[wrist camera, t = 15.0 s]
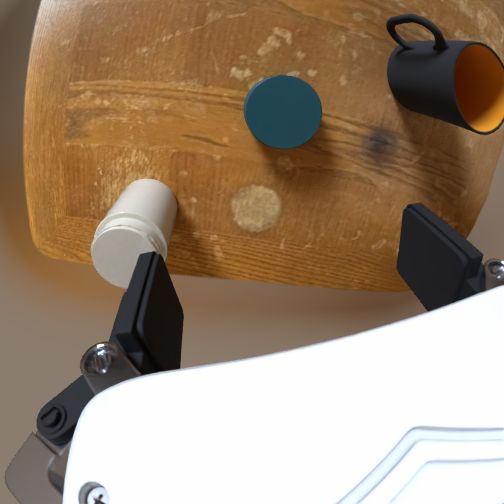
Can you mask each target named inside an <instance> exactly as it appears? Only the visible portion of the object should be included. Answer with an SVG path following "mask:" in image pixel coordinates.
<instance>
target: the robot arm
mask: <svg viewBox="0 0 504 504" xmlns="http://www.w3.org/2000/svg"><path fill="white" fill-rule="evenodd" d="M482 258H483V254H482V253H481V252H480V251H479V250H478V249H476V248H475V247H474V246H473V245H472V244H471V243H470V242H469V241H467V240H466V239H465V238H464V237H463V236H462V235H460V234H459V233H458V232H457V231H456V230H455V229H453V228H452V227H451V226H450V225H449V224H447V223H446V222H445V221H444V220H442V219H441V218H440V217H439V216H437V215H436V214H435V213H433V212H432V211H431V210H430V209H428V208H427V207H426V206H424V205H423V204H422V203H415V204H409V205H407V207H406V209H404V210H403V216H402V227H401V236H400V244H399V252H398V259H397V270H398V273H399V274H400V275H401V277H402V278H403V279H404V281H405V282H406V283H407V284H408V286H409V287H410V288H411V290H412V291H413V292H414V294H415V295H416V296H417V297H418V299H419V300H420V302H421V303H422V304H423V306H424V307H425V308H426V310H427V311H428V312H426V313H423V314H420V315H417V316H414V317H411V318H407V319H404V320H401V321H398V322H395V323H391V324H388V325H385V326H381V327H378V328H375V329H371V330H367V331H364V332H360V333H356V334H353V335H349V336H345V337H341V338H337V339H334V340H329V341H325V342H321V343H317V344H313V345H309V346H304V347H300V348H295V349H291V350H286V351H281V352H276V353H271V354H266V355H261V356H256V357H250V358H245V359H239V360H233V361H227V362H221V363H215V364H208V365H201V366H195V367H189V368H183V369H180V362H181V345H182V332H183V319H184V316H183V310H182V307H181V304H180V302H179V299H178V296H177V294H176V291H175V289H174V286H173V283H172V281H171V278H170V275H169V273H168V270H167V267H166V265H165V262H164V259H163V256H162V255H161V254H157V253H156V252H155V251H151V252H147V253H142V254H140V255H139V257H138V260H137V263H136V266H135V268H134V271H133V274H132V277H131V280H130V283H129V286H128V289H127V292H125V293H124V295H123V297H122V300H121V303H120V306H119V310H118V313H117V316H116V319H115V322H114V326H113V329H112V333H111V336H110V339H109V342H101V343H97V344H95V345H94V346H92V347H90V348H89V349H88V350H87V351H86V353H85V354H84V355H83V356H82V359H81V362H80V369H81V372H82V374H83V375H82V376H80V377H79V378H78V379H77V380H75V381H74V382H73V383H72V384H71V385H69V386H68V387H67V388H66V389H64V390H63V391H62V392H61V393H60V394H58V395H57V396H56V397H54V398H53V399H52V400H51V401H50V402H48V403H47V404H46V405H45V406H44V407H43V408H42V409H41V411H40V412H39V414H38V418H37V428H38V431H37V433H36V434H34V433H33V432H32V433H31V434H30V436H29V437H28V438H27V440H26V441H25V443H24V444H23V445H22V447H21V448H20V450H19V451H18V453H17V454H16V455H15V457H14V458H13V460H12V461H11V463H10V464H9V466H8V468H7V470H6V472H5V482H6V485H7V487H8V489H9V490H10V492H11V493H12V494H13V495H14V497H15V498H16V499H17V500H18V501H19V503H20V504H504V261H503V260H500V259H495V258H494V259H489V260H487V261H486V262H485V264H484V265H483V264H482V263H481V261H482Z"/></svg>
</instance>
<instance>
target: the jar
mask: <svg viewBox="0 0 504 504" xmlns="http://www.w3.org/2000/svg"><path fill="white" fill-rule="evenodd" d="M177 212H178V206H177V201H176V198H175V196H174V194H173V193H172V191H171V190H170V189H169V188H168V187H167V186H166V185H164V184H163V183H161V182H159V181H156V180H152V179H140V180H137V181H134V182H132V183H131V184H129V185H128V186H127V187H126V188H125V189H124V190H123V192H122V193H121V194H120V196H119V197H118V199H117V200H116V201H115V203H114V204H113V206H112V207H111V208H110V210H109V211H108V213H107V214H106V215H105V217H104V218H103V220H102V221H101V223H100V224H99V226H98V227H97V230H96V232H95V237H94V240H93V242H92V244H91V250H90V252H91V253H92V261H93V264H94V266H95V268H96V270H97V272H98V273H99V274H100V275H101V276H102V277H103V278H104V279H105V280H106V281H108V282H109V283H111V284H113V285H115V286H118V287H121V288H126V289H128V286H129V283H130V280H131V277H132V274H133V271H134V268H135V266H136V263H137V260H138V257H139V255H140V254H142V253H147V252H151V251H155V252H156V253H157V254H161V255H162V256H163V259H164V262H165V261H166V257H167V253H168V249H169V245H170V241H171V237H172V233H173V228H174V225H175V221H176V217H177Z"/></svg>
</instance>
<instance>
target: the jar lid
mask: <svg viewBox="0 0 504 504" xmlns="http://www.w3.org/2000/svg"><path fill="white" fill-rule="evenodd" d="M244 117H245V120H246V123H247V125H248V127H249V129H250V130H251V132H252V133H253V134H254V136H255V137H256V138H257V139H258V140H259V141H261V142H262V143H264V144H266V145H268V146H270V147H273V148H278V149H290V148H295V147H298V146H300V145H302V144H304V143H305V142H307V141H308V140H309V139H310V138H312V136H313V135H314V134H315V133H316V131H317V130H318V127H319V125H320V122H321V118H322V106H321V102H320V99H319V97H318V95H317V93H316V92H315V90H314V89H313V88H312V87H311V86H310V85H309V84H308V83H306V82H305V81H303V80H301V79H299V78H296V77H293V76H286V75H278V76H272V77H268V78H265V79H263V80H261V81H260V82H258V83H257V84H256V85H255V86H253V88H252V89H251V90H250V91H249V93H248V95H247V97H246V100H245V103H244Z"/></svg>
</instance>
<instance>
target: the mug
mask: <svg viewBox="0 0 504 504" xmlns="http://www.w3.org/2000/svg"><path fill="white" fill-rule="evenodd" d="M410 22H414V23H418V24H420V25H422V26H424V27H426V28H427V29H429V30H430V31H431V32H432V33H433V35H434V37H435V41H412V42H406V41H404V40H403V39H402V38H401V37H400V36H399V35H398V34H397V33H396V31H395V25H398V24H403V23H410ZM386 27H387V30H388V32H389V34H390V35H391V37H392V38H393V39H394V40H395V41H396V42H397V43H398V44H399V46H398V47H397V48H395V50H394V51H393V52H392V54H391V56H390V58H389V62H388V67H387V76H388V81H389V85H390V88H391V90H392V92H393V94H394V96H395V97H396V99H397V100H398V101H399V102H400V103H401V104H402V105H403V106H404V107H406V108H407V109H409V110H411V111H414V112H417V113H421V114H424V115H427V116H430V117H433V118H436V119H439V120H442V121H445V122H448V123H451V124H454V125H457V126H459V127H462V128H465V129H467V130H470V131H473V132H475V133H478V134H482V135H487V134H491V133H493V132H495V131H496V130H497V129H499V127H500V126H501V125H502V124H503V122H504V65H503V63H502V61H501V60H500V58H499V57H498V55H497V54H496V53H495V52H494V51H493V50H492V49H491V48H490V47H489V46H487V45H486V44H483V43H481V42H475V41H445V40H444V37H443V35H442V33H441V32H440V30H439V29H438V28H437V27H436V26H435V25H434V24H433V23H432V22H430V21H429V20H427V19H425V18H423V17H421V16H418V15H414V14H405V15H400V16H395V17H391V18H390V19H389V20H388V21H387V24H386Z"/></svg>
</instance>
